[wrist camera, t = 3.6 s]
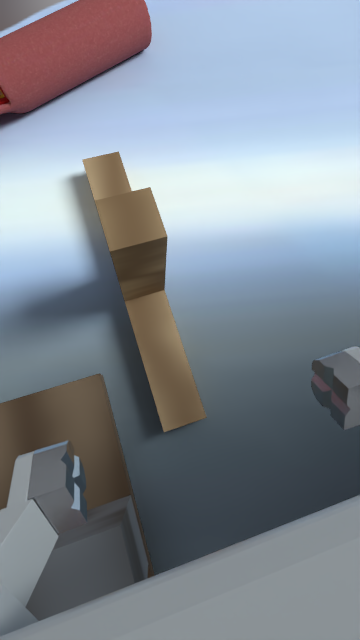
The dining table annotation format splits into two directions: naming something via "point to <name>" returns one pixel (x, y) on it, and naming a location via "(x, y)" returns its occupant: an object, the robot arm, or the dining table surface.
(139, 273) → the oak bar
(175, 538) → the dining table surface
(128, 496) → the stand
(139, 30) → the artery
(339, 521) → the robot arm
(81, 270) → the dining table surface
